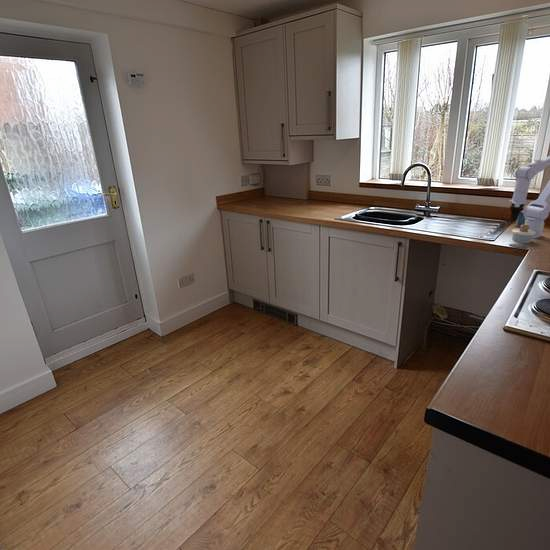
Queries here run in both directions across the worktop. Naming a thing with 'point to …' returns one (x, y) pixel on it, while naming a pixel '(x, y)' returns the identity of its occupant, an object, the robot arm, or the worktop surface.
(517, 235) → the bowl
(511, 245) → the mat
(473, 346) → the worktop surface
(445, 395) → the worktop surface
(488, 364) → the worktop surface
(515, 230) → the lid
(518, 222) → the flask
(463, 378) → the worktop surface
